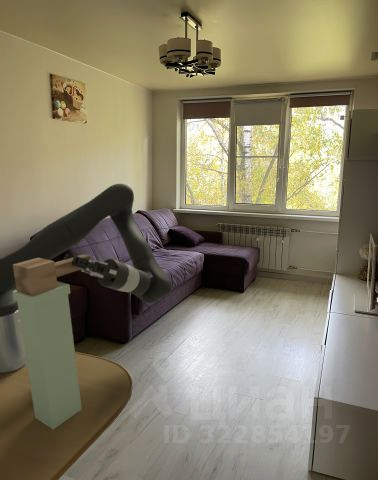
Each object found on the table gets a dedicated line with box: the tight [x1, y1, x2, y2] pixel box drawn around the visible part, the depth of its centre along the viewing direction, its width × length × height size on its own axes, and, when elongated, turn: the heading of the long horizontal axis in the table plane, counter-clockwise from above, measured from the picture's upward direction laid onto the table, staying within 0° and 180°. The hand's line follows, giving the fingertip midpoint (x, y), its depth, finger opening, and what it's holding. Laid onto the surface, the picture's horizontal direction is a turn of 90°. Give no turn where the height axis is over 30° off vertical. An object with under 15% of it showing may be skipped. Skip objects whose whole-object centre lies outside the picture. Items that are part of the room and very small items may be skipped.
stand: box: [13, 280, 83, 430], centre depth 85 cm, size 8×9×32 cm
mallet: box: [13, 254, 92, 296], centre depth 84 cm, size 6×17×6 cm, turn 144°
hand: (69, 259), depth 86 cm, fingers closed on mallet, 2 cm apart
